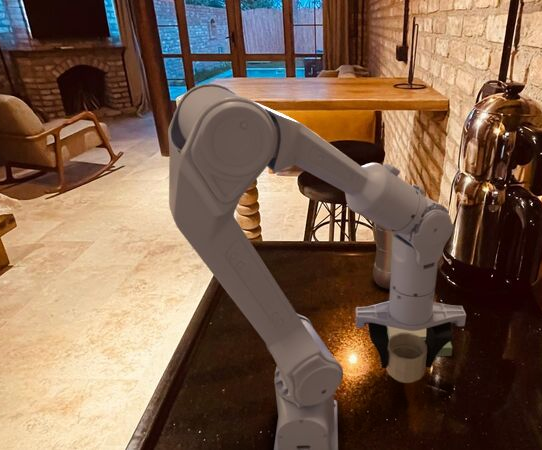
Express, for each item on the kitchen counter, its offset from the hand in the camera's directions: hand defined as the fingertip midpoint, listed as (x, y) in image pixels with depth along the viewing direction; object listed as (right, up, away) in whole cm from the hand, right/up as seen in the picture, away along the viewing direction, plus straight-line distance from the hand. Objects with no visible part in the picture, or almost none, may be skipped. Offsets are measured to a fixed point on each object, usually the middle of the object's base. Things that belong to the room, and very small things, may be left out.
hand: (405, 362), depth 58 cm
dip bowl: (0, -1, +1) cm, 1 cm away
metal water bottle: (+1, +7, +25) cm, 26 cm away
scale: (+3, +1, +12) cm, 12 cm away
